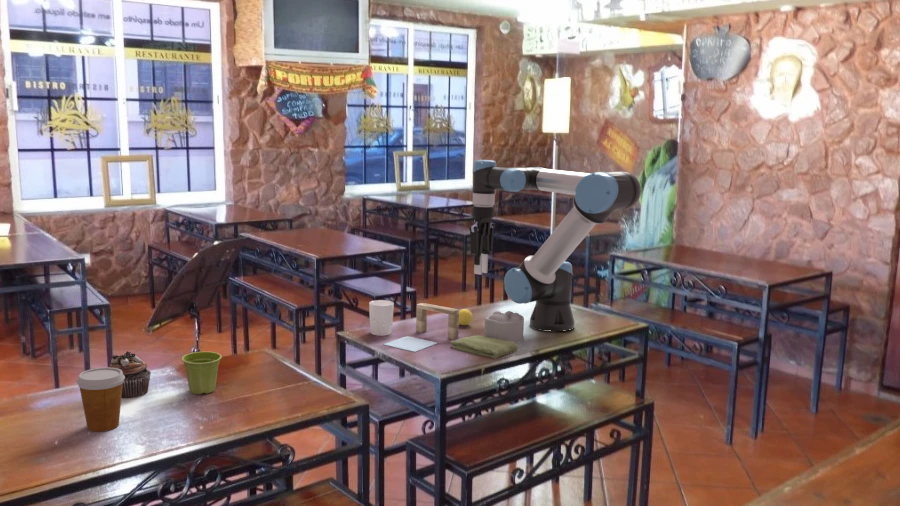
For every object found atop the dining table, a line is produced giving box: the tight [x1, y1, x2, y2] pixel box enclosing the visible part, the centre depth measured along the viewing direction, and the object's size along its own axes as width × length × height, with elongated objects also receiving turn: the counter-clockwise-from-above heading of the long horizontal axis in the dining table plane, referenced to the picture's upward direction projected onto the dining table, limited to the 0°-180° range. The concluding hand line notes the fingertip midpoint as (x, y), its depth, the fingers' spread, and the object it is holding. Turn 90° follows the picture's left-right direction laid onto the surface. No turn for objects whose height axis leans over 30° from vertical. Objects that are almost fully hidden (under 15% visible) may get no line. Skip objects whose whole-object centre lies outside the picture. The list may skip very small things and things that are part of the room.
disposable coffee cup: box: [76, 366, 125, 433], centre depth 169 cm, size 10×10×12 cm
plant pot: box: [181, 351, 223, 395], centre depth 194 cm, size 9×9×9 cm
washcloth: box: [450, 335, 519, 359], centre depth 237 cm, size 13×18×3 cm
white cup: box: [368, 299, 395, 337], centre depth 251 cm, size 8×8×10 cm
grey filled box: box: [483, 310, 525, 344], centre depth 248 cm, size 10×13×9 cm
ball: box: [459, 308, 473, 326], centre depth 264 cm, size 6×6×6 cm
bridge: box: [415, 302, 460, 341], centre depth 251 cm, size 3×14×9 cm, turn 56°
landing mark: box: [382, 335, 439, 353], centre depth 240 cm, size 12×12×1 cm
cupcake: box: [108, 351, 152, 400], centre depth 190 cm, size 10×10×10 cm
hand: (480, 273), depth 270 cm, fingers open, 3 cm apart
